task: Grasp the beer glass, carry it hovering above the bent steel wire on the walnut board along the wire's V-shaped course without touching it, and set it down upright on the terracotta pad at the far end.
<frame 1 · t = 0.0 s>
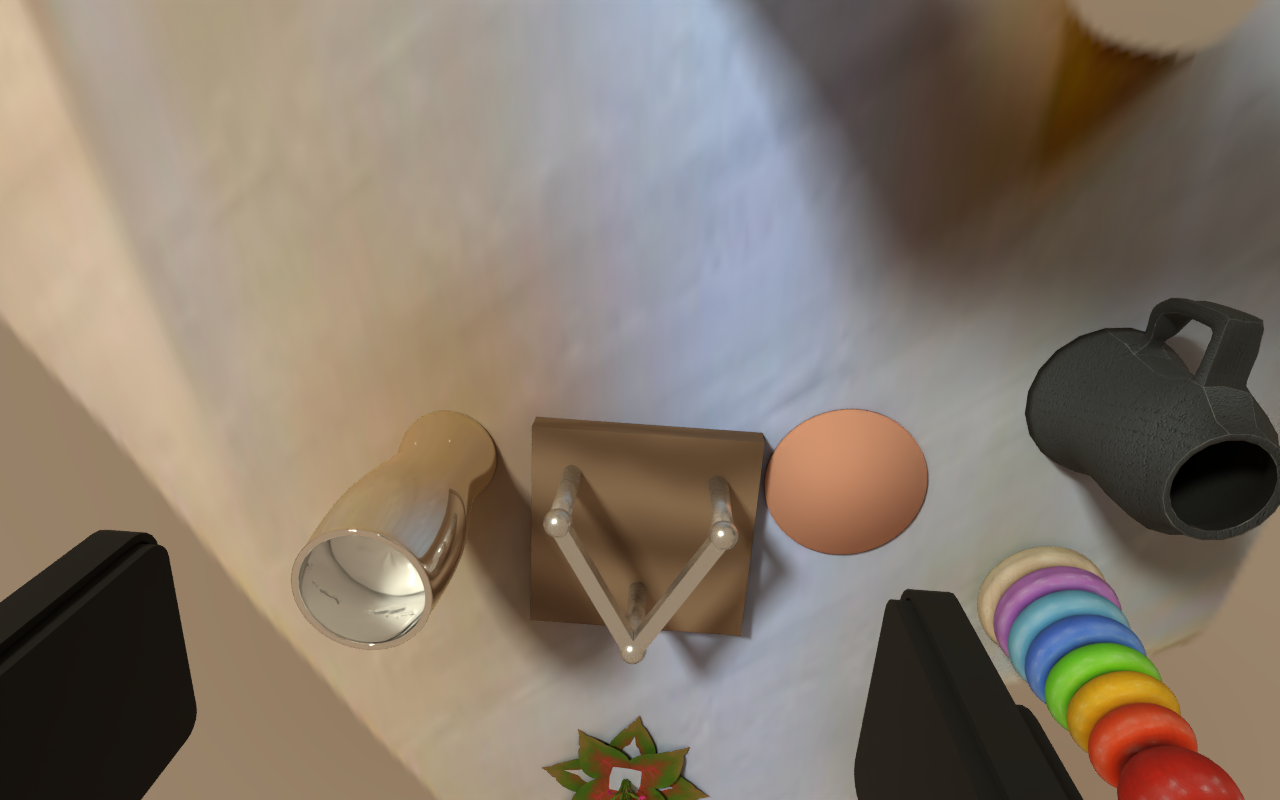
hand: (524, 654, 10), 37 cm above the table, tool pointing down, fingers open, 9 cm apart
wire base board: (643, 510, 51), on the table
bent wire: (638, 565, 47), on the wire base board, point 5 cm above the table
stacking toy: (1033, 591, 52), on the table
mug: (1110, 377, 47), on the table
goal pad: (844, 482, 50), on the table
lily flower: (626, 773, 60), on the table
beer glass: (450, 453, 50), on the table
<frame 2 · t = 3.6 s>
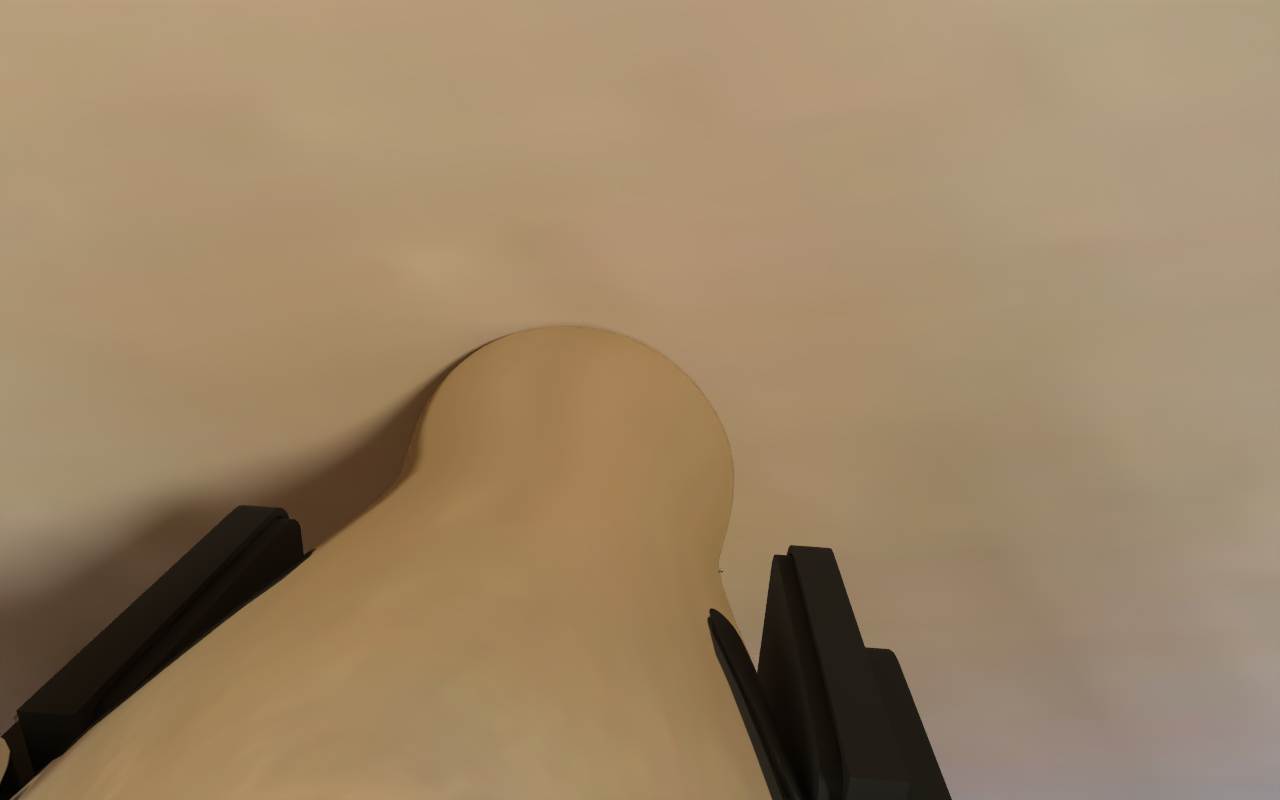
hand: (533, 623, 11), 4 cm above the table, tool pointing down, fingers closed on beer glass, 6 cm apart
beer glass: (574, 472, 15), on the table, touching gripper
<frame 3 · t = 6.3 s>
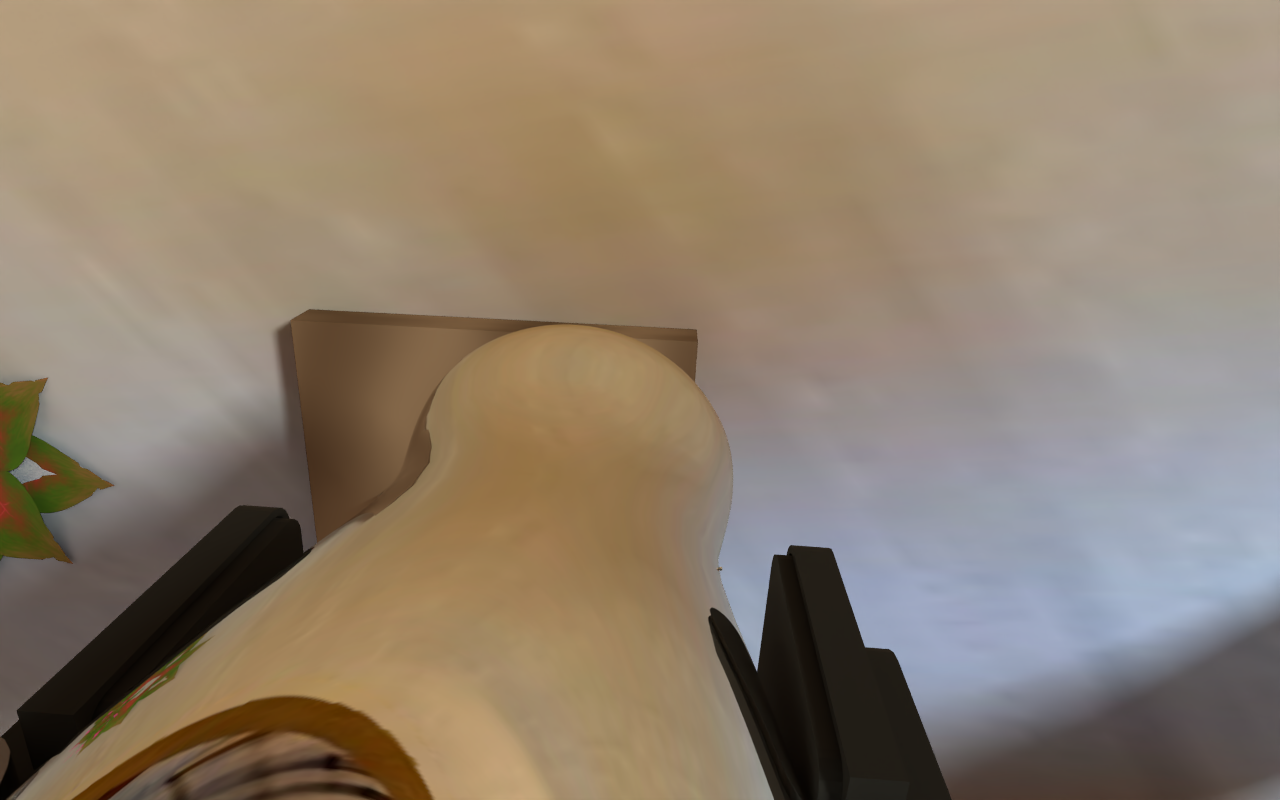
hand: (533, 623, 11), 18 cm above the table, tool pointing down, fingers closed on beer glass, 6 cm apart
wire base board: (530, 494, 31), on the table
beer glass: (574, 471, 15), point 14 cm above the table, touching gripper
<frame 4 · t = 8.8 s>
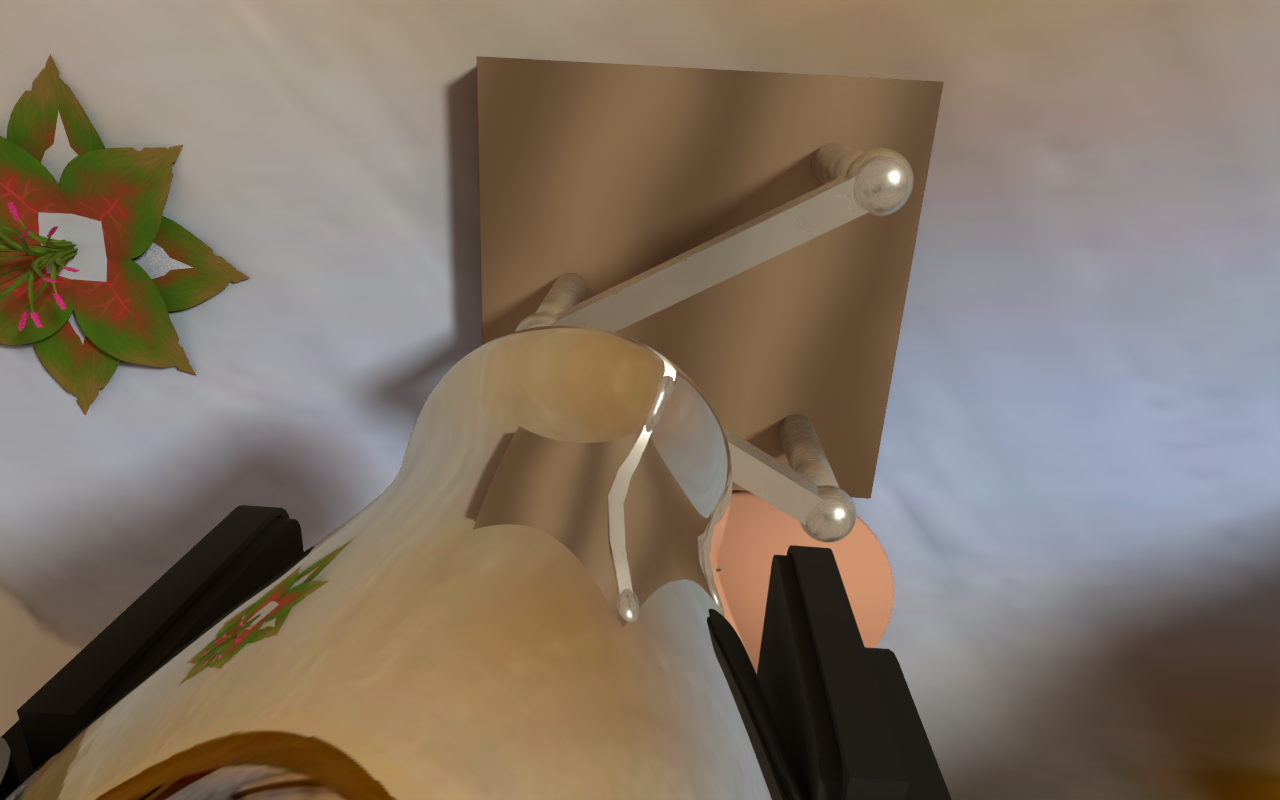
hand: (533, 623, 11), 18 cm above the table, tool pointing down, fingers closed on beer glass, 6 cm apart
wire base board: (719, 289, 28), on the table
bent wire: (694, 325, 23), on the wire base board, point 5 cm above the table
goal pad: (766, 596, 32), on the table
lily flower: (86, 244, 29), on the table
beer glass: (573, 471, 15), point 14 cm above the table, touching gripper
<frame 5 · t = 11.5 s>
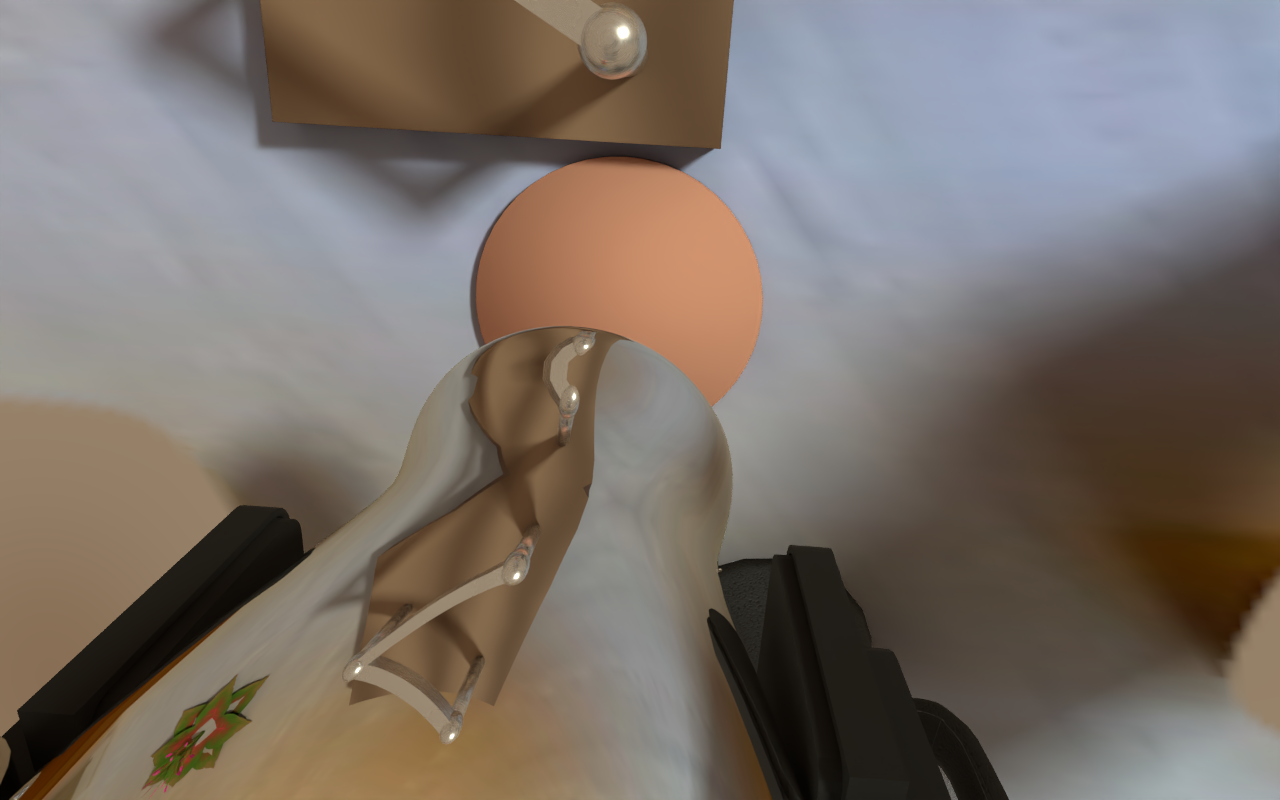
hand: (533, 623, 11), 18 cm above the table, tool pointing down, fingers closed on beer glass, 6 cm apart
mug: (794, 653, 33), on the table
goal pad: (618, 304, 28), on the table
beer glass: (573, 472, 15), point 13 cm above the table, touching gripper
when the fingers open (6 cm above the table, at t = 14.1 s): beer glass drops 1 cm, resting on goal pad.
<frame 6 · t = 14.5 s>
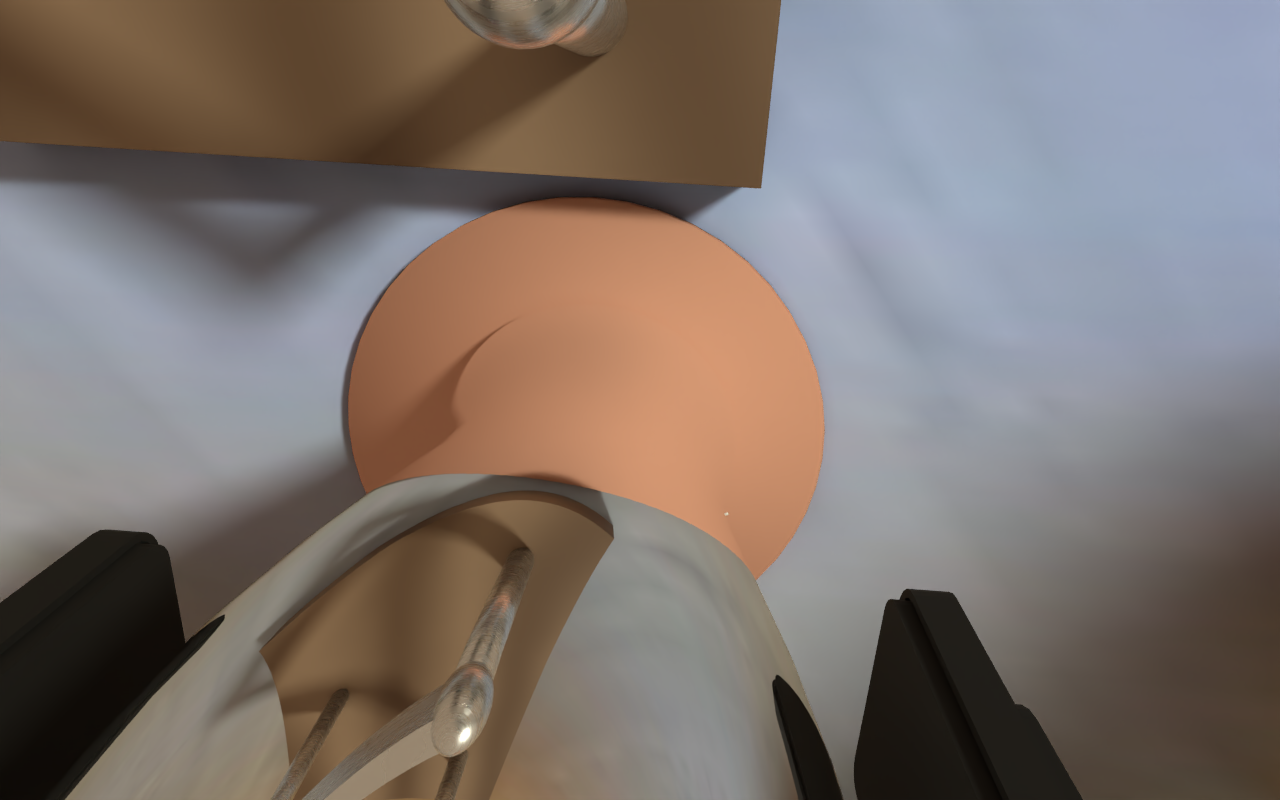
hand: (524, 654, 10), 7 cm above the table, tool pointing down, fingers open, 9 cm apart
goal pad: (585, 436, 17), on the table
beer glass: (592, 438, 17), resting on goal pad
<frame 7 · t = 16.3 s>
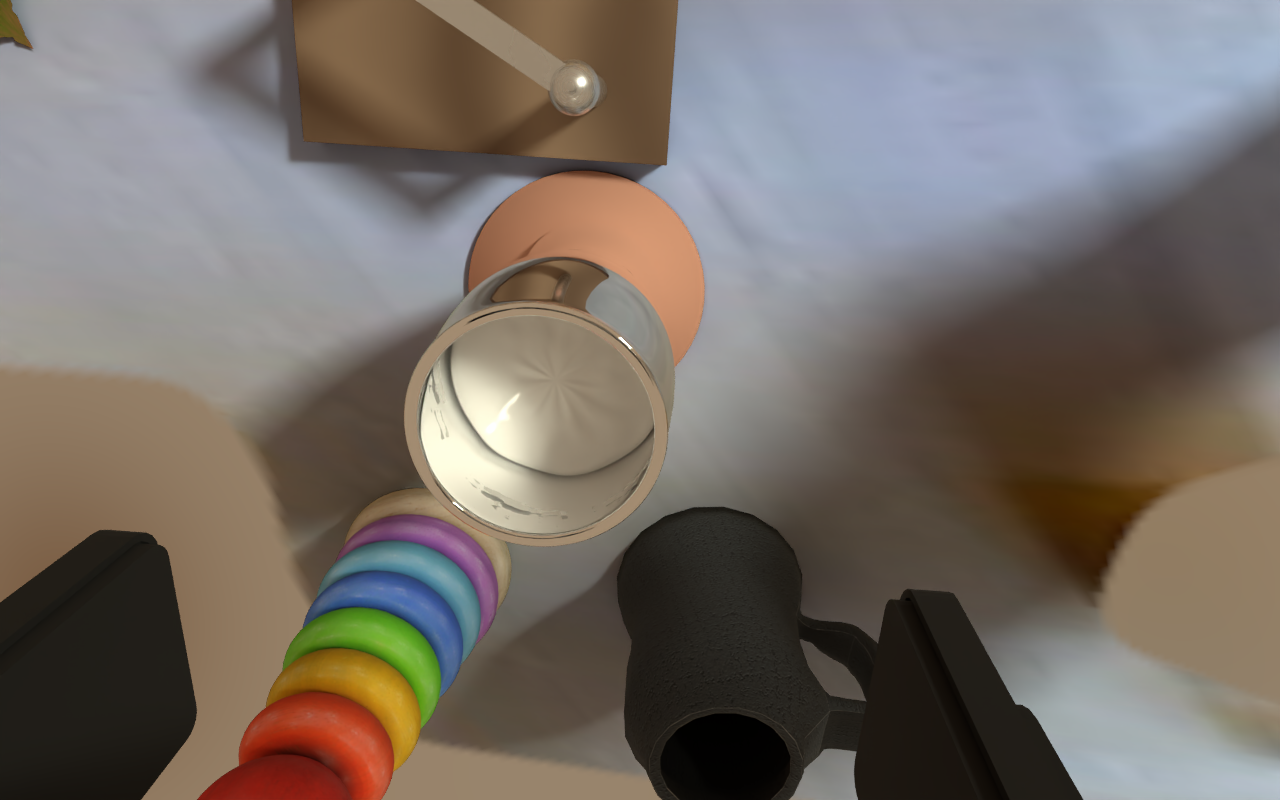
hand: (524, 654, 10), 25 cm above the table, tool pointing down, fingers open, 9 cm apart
stacking toy: (434, 551, 39), on the table
mug: (737, 589, 39), on the table
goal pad: (586, 291, 34), on the table
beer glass: (590, 292, 34), resting on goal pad
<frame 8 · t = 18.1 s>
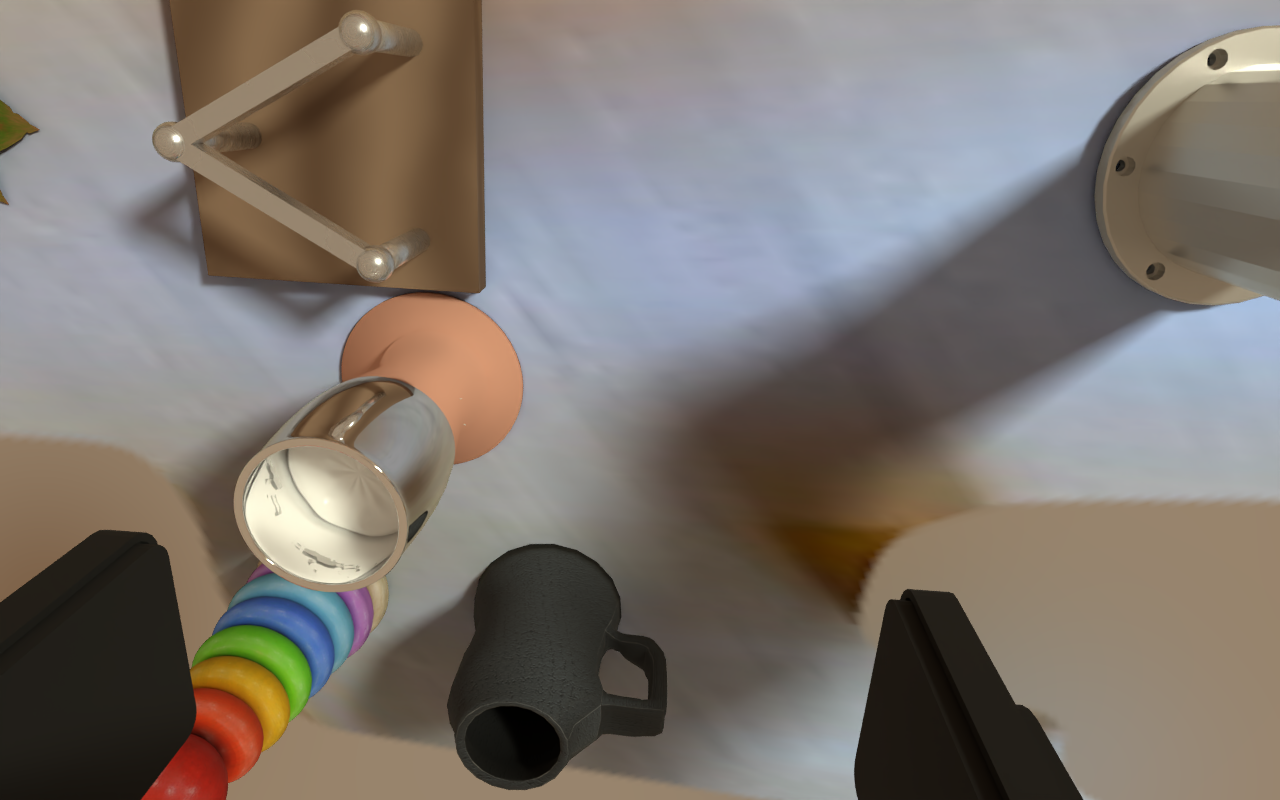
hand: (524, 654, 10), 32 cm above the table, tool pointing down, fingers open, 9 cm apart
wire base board: (363, 140, 39), on the table
bent wire: (299, 144, 35), on the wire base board, point 5 cm above the table
stacking toy: (330, 577, 49), on the table
mug: (571, 608, 49), on the table
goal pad: (433, 380, 44), on the table
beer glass: (435, 381, 44), resting on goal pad
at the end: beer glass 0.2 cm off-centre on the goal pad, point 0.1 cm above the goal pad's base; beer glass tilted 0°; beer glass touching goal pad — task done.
